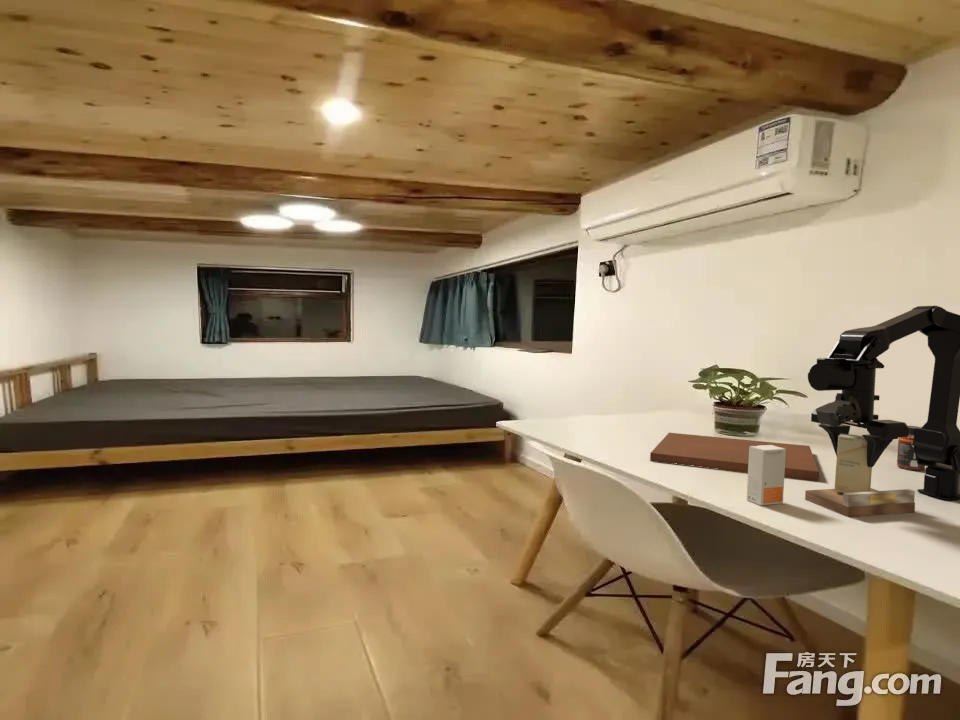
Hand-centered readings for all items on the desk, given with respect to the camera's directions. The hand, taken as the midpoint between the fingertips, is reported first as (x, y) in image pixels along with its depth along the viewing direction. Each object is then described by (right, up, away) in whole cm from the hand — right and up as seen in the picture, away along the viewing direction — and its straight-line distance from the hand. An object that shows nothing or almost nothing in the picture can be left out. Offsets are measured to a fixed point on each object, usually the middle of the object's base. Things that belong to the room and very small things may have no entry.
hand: (854, 462), depth 116 cm
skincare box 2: (0, -7, 0) cm, 7 cm away
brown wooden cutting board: (-7, -7, +41) cm, 42 cm away
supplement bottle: (+36, -8, +30) cm, 47 cm away
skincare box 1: (-19, -9, +1) cm, 21 cm away
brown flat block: (0, -9, -1) cm, 9 cm away
